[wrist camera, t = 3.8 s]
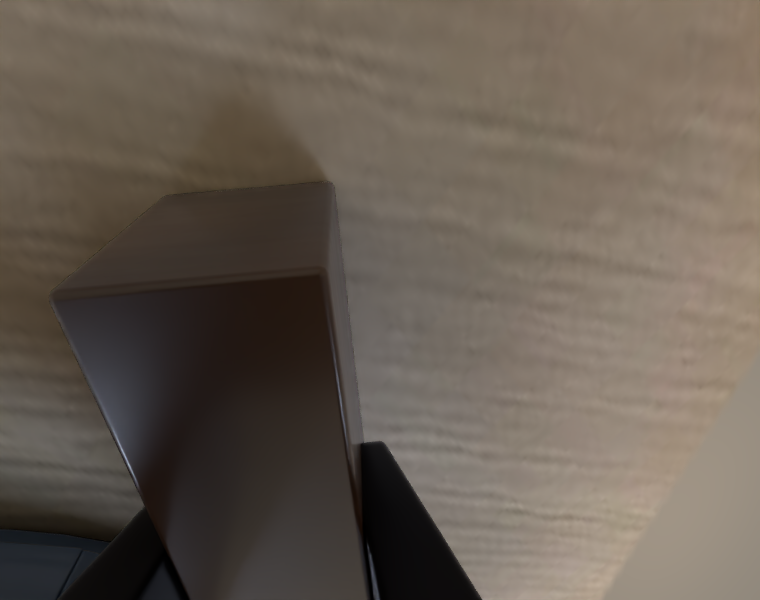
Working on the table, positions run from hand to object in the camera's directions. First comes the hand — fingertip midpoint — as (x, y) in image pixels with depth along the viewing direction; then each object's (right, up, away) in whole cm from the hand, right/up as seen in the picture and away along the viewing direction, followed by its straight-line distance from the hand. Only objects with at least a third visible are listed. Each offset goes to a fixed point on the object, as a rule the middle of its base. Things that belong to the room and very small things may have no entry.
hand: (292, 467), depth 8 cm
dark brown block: (0, 0, +1) cm, 1 cm away
